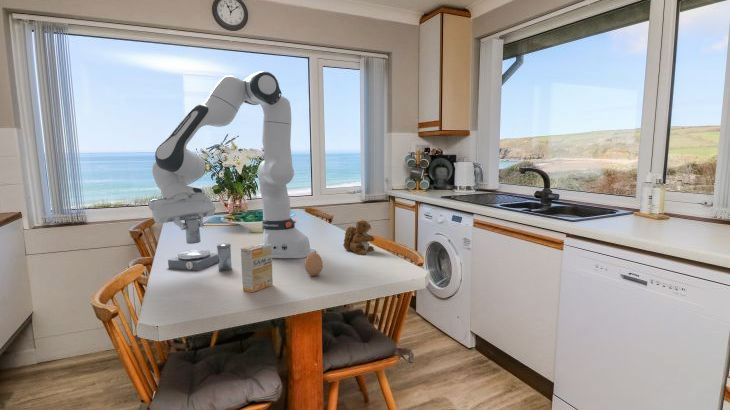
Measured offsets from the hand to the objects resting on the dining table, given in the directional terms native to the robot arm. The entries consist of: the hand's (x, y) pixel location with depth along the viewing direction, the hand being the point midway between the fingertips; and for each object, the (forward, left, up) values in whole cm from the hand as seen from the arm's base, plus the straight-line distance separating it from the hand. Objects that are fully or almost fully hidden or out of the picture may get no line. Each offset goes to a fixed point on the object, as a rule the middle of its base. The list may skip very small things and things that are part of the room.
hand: (193, 227), depth 130 cm
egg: (-40, -8, -17) cm, 44 cm away
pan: (+9, -10, -13) cm, 18 cm away
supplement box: (-28, +7, -17) cm, 34 cm away
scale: (+9, -10, -16) cm, 21 cm away
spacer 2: (-6, -7, -16) cm, 19 cm away
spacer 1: (+1, 0, -5) cm, 5 cm away
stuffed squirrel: (-45, -43, -17) cm, 64 cm away
